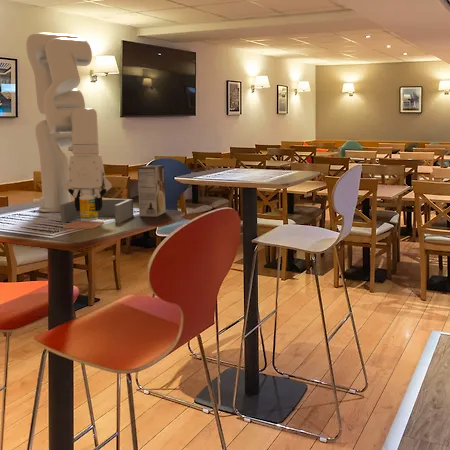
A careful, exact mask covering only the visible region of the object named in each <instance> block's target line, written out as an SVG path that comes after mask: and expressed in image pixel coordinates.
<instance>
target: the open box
mask: <svg viewBox="0 0 450 450" xmlns="http://www.w3.org/2000/svg"><path fill="white" fill-rule="evenodd" d="M59 213H60V223H61V224H66V223H68V222H70V221H73V220H75V219H78V218H81V217H80V211H76V208H75V199H74V200H71V202H68V203H65V204H62V205H60V212H59ZM133 216H134V199H133V198H102V208H101V210H100V211H98V217H114V222H115V224H121V223H122V222H124V221H126V220H128V219H131V218H132V217H133Z"/></svg>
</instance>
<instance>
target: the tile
mask: <svg viewBox="0 0 450 450" xmlns="http://www.w3.org/2000/svg"><path fill="white" fill-rule="evenodd" d="M103 224H105V222H104V221H98V220H93V221H82V220H81V221H80V220H79V221H76V220H74V221H73V222H70V223H68V224H66V225H63V229H96V228H98V227H99V226H100V227H101V225H103Z"/></svg>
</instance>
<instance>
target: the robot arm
mask: <svg viewBox="0 0 450 450" xmlns="http://www.w3.org/2000/svg"><path fill="white" fill-rule="evenodd" d="M25 43H26V44H25V46H26V47H25V48H26V54H27V58H28V61H29V64H30V66H31V68H32V71H33V74H34V76H33V77H34V82H35V83H34V84H35V85H34V86H35V94H36V95H35V96H36V104H37V105H36V106H37V109H38V112H39V113H40V114H42V115H44V116H45V119H44V120H41V121H39V122H37V123H36V125H35V129H34V130H35V132H34V133H35V138H36V142H37V147H38V155H39V165H40V180H41V193H42V195H41V196H42V197H39V198H33V199H32V205H39V207H38V211H39V212H44V213H61V212H60V205H62V204H65V203H68V202H71V201H72V198H73V199H74V200H75V208H76V211H80V202H79V197H80V196H81V194H82V193H81V189H94V190H95V193H94V194H95V195H96V198H95V207H96V211H100V210H101V208H102V199H103V197H104V196H105V194H107V192H108V191H110V189H112V188H113V185H112V183H111V181H109V179H107V177H106V174H105V168H104V162H103V157H102V155H101V154H99V152H100V150H99V132H98V131H99V130H98V114H97V111H96V109H94V108H92V107H86V103H85V97H84V95H83V93H82V92H81V90H79V89H78V88H77V87H78V86H79V85H80V83H81V76H80V73H79V69H78V67H87V66H89V65H90V64H91V62H92V60H93V59H92V58H93V51H92V48H91V46H90V43H89V42H88V41H87V40H86V39H85V38H83V37H81V36H78V35H75V34H68V33H53V32H35V33H31V34H29V35H28V37H27V39H26V42H25ZM62 148H68V150H67V151H68V152H71V153H72V154H71V155H70V156H69V159H68V157H67V155H66V154H65V153H64V151H63V150H62ZM102 187H103V188H102ZM71 195H72V198H71Z"/></svg>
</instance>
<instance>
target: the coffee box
mask: <svg viewBox="0 0 450 450" xmlns="http://www.w3.org/2000/svg"><path fill="white" fill-rule="evenodd" d="M165 183H166V182H165V165H164V164H163V165H162V164H160V165H159V164H155V165H154V164H153V165H152V164H151V165H142V166H139V167H137V189H138V208H139V209H138V210H139V217H157V218H158V217H159V216H162V215H163V214H166V211H167V210H166V188H165V187H166V186H165Z"/></svg>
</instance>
